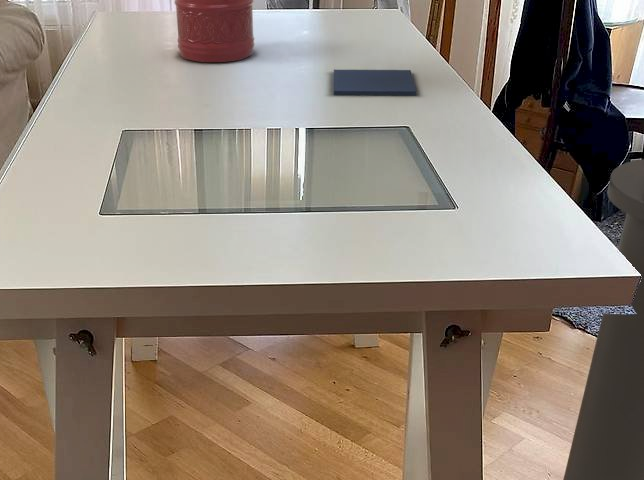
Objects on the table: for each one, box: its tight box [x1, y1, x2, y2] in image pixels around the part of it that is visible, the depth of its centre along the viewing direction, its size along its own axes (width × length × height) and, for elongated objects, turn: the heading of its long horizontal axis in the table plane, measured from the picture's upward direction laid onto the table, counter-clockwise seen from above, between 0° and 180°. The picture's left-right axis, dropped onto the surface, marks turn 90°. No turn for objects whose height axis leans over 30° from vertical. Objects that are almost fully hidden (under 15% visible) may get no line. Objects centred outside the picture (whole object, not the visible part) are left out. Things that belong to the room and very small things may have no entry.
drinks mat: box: [333, 69, 418, 96], centre depth 127 cm, size 12×12×1 cm
